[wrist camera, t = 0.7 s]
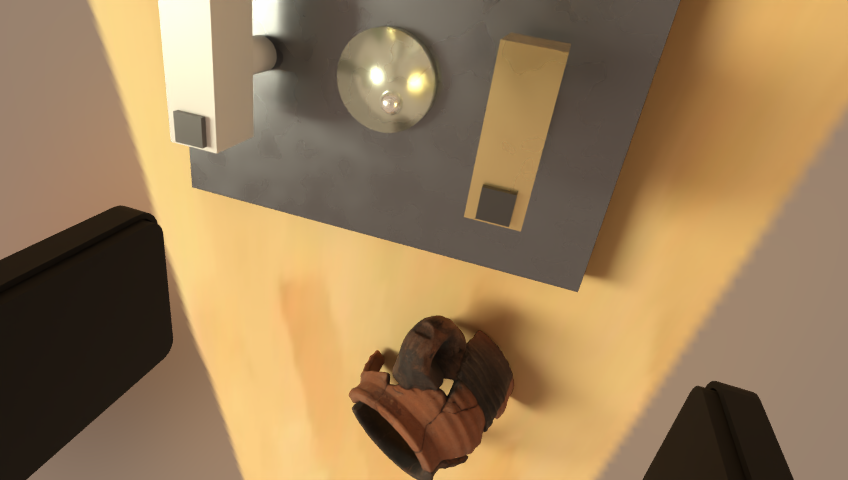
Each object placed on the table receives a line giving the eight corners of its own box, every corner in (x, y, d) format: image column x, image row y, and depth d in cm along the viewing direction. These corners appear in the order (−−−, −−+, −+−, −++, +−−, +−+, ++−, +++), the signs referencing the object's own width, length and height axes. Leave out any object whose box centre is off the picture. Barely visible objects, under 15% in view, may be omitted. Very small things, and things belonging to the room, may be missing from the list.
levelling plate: (194, -162, 25) (140, -182, 22) (704, -91, 21) (724, -104, 18) (212, 176, 34) (174, 196, 31) (578, 274, 30) (577, 308, 27)
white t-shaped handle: (238, -26, 25) (150, -28, 20) (283, -17, 25) (203, -17, 20) (241, 114, 29) (166, 143, 24) (280, 123, 28) (212, 155, 23)
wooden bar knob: (518, 27, 23) (499, 39, 18) (572, 37, 23) (568, 53, 17) (486, 173, 26) (462, 219, 21) (533, 184, 26) (519, 234, 21)
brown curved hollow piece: (524, 423, 37) (450, 519, 32) (425, 357, 42) (350, 432, 38) (525, 308, 29) (428, 413, 25) (404, 246, 34) (306, 323, 30)
